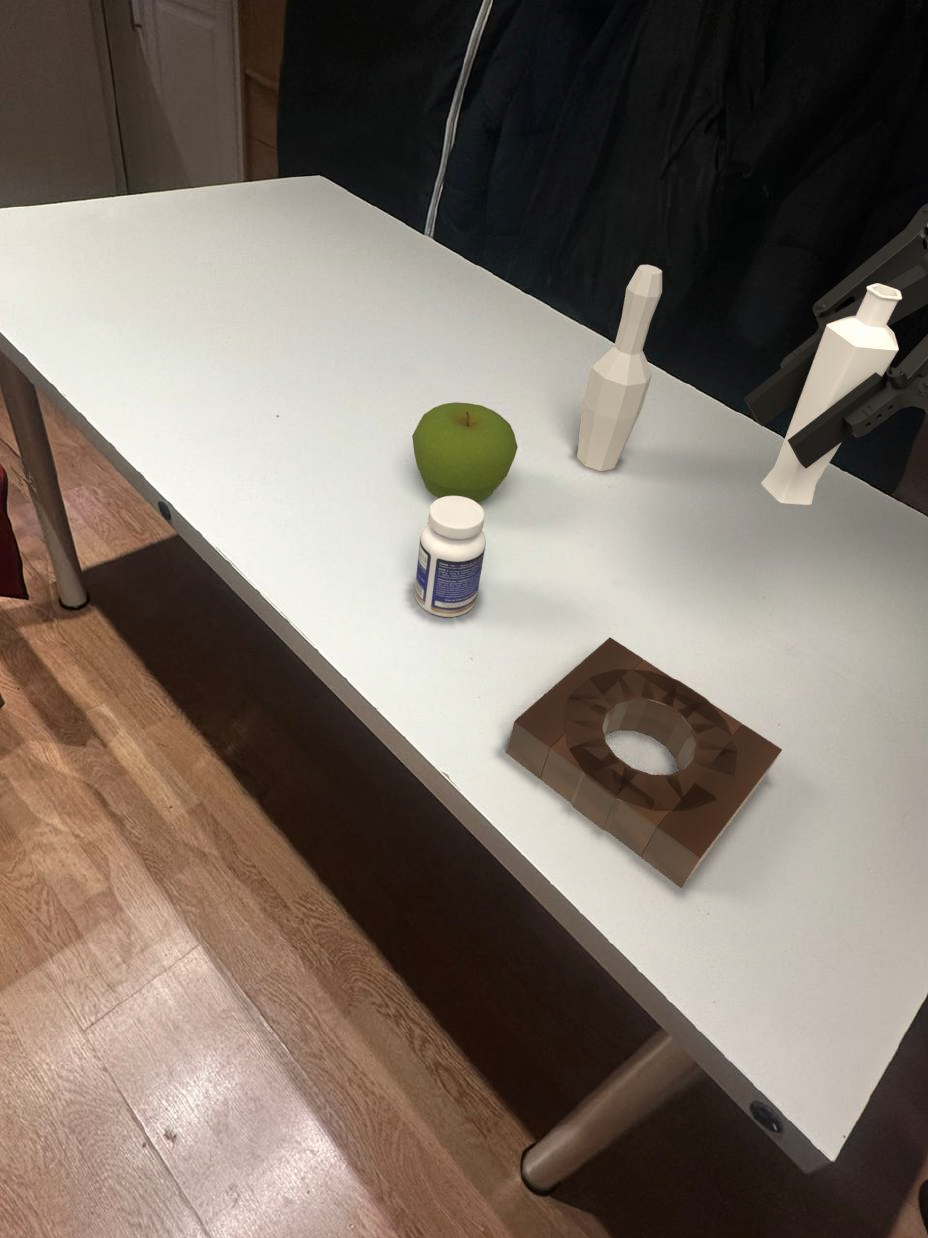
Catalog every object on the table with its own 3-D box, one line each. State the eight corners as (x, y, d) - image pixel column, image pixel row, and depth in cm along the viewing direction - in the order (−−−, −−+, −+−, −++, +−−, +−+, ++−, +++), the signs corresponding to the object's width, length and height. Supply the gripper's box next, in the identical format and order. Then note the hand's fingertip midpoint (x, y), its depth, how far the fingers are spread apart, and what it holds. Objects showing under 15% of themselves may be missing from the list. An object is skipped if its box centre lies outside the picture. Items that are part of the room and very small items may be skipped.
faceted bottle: (559, 455, 95) (605, 263, 80) (592, 438, 99) (642, 251, 84) (602, 481, 92) (657, 288, 77) (635, 463, 96) (694, 274, 81)
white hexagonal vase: (797, 517, 58) (901, 314, 48) (748, 485, 61) (837, 284, 50) (832, 497, 61) (938, 299, 50) (783, 467, 63) (875, 271, 52)
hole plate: (763, 778, 65) (783, 748, 62) (680, 890, 57) (698, 861, 54) (599, 667, 72) (610, 635, 69) (504, 753, 64) (512, 721, 61)
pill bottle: (487, 594, 77) (503, 508, 70) (455, 628, 73) (469, 541, 66) (434, 569, 78) (445, 482, 71) (401, 601, 75) (410, 513, 68)
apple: (440, 536, 82) (452, 451, 75) (388, 479, 88) (394, 395, 81) (526, 508, 87) (544, 426, 80) (471, 456, 93) (484, 376, 86)
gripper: (1234, 280, 46) (869, 540, 53) (1002, 176, 58) (726, 399, 64) (1245, 176, 41) (839, 478, 48) (987, 85, 53) (688, 337, 59)
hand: (774, 432), depth 56 cm, fingers closed on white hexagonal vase, 5 cm apart
